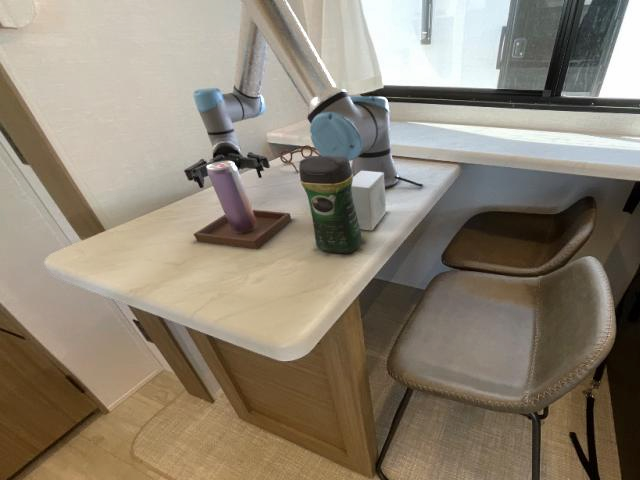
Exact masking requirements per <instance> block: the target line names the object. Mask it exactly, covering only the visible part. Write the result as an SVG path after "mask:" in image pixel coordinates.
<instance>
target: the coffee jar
mask: <svg viewBox="0 0 640 480" xmlns="http://www.w3.org/2000/svg"><path fill="white" fill-rule="evenodd" d="M308 156H309V155H308ZM351 166H352V165H351V161H349V160H348V158H347V157H338V156H319V155H312V156H309V157H307V158H303V159H301V160H300V161H299V166H298V168H299V169H298V172H299V178H300V183H301V185H302V188H303V190H304V192H305V193H306V196H307V199H308V204H309V208H310V214H311V219H312V225H313V226H312V227H313V234H314V239H315V245H316V248H317V249H318V250H319V251H321V252H326V253H333V254H349V253H351V252H353V251H355V250H357V249H358V248H359V247H360V245H361V244H362V241H363V236H362V230H361V229H360V227H359V223H358V219H357V215H356V211H355V206H354V202H353V197H352V182H353V174H352V169H351Z"/></svg>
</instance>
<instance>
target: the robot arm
mask: <svg viewBox="0 0 640 480" xmlns="http://www.w3.org/2000/svg"><path fill="white" fill-rule="evenodd" d="M240 2H241V14H240V24H239V32H238V42H237V50H236V51H237V52H236V60H235V73H234V81H233V87H232V89H233V91H232V92H228V93H222V91H221V89H219V88H218V87H206V88H199V89H195V90H194V91H193V93H192V95H193V100H194V103H195V106H196V109H197V111H198V113H199V116H200V118H201V121H202V123H203V125H204V127H205V129H206V134H207V136H208V138H209V141H210V144H211V146H212V158H210V159H209V161H207V160H206V159H204V158H200V159H199V160H198V162H195V163H194V164H192V165H191V166H189V167H187V168H185V169H184V170H183V172H184V174H185V176H186V178H187V180H188V181H190V182H191V181H193V182H194V183H197V184H198V185H197V186H198V187H199V189H203V188H204V186H205V178H207V177H209V175H208V172H207V168H206V167H207V166H208V165H209V164H212V163H215V162H220V161H233V162H234V163H235V165H236V167H237V169H238V171H239V170H244V169H251V170H253V169H254V170H256V173H257V177H258V179H261V178H263V177H262V173H261V172H264V171H265V169H270V168H271V165H270V160H269V158H268V157H267V156H264V155H259V154H256V153H254V152H252V151H249V152H247V154H246V155H243V154H242V150H241V149H242V148H241V145H240V142H239V140H238V137H237V135H236V132H235V129H234V126H233V124H235V123H238V122H241V121H245V120H249V119H255V118H258V117H260V116H262V115H264V113H265V111H266V103H265V102H266V101H265V98H264V97H263V94H262V88H263V83H264V76H265V70H266V64H267V59H268V53H269V48H270V49H271V51H272V53H273V54H274V56H275V57H276V60H277V61H278V63H279V64H280V65H281V68H282V69H283V70H284V72H285V74H286V75H287V77H288V78H289V80H290V81H291V83H292V85H293V86H294V88H295V89H296V91H297V93H298V94H299V96H300V98H301V99H302V101H303V102H304V104H305V106H306V107H307V108H306V109H307V113H306V114H307V115H306V119H307V120H308V122H309V124H310V127H309V133H310V140H311V143H312V145H313V147H314V148H315V151H316V152H318V153H319V154H320V155H322V156H338V157H347V158H348V160H349V162H351V165H350V166H351V169H352V174H353V177H354V176H355V175H356V174H358V173H359V172H360V171H371V172H382V173H384V184H385V189H386V188H389V187H392V186H395V185H396V184H397V183H398V182H399V181H403V182H405V183H408V184H411V185H414V186H416V187H420V188H421V187H424V184H423V183H418V182H416V181H412V180H411V179H407V178H404V177H402V176H401V177H400V176H399V174H398V169H397V166H396V164H395V162H394V159H393V156H392V155H393V154H392V147H391V146H392V145H391V144H392V143H391V126H390V125H391V124H390V110H389V102H388V99H387V98H386V97H384V96H358V95H357V96H355V95H354V96H350V95H349V93H348V91H347V90H346V89H343V88H340V87H338V86H337V85H336V83H335V81H334V80H333V78H332V77H331V75H330V72H328V70H327V68H326V66H325V64H324V62H323V61H322V59H321V58H320V55H319V53H318V52H317V50H316V48H315V47H314V45H313V43H312V42H311V40H310V39H309V36H308V35H307V33H306V32H305V30H304V27H302V25H301V23H300V21H299V19H298V18H297V15H296V14H295V12H294V11H293V9H292V7H291V6H290V4H289V2H288V0H240Z"/></svg>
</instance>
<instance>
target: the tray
mask: <svg viewBox="0 0 640 480" xmlns="http://www.w3.org/2000/svg"><path fill="white" fill-rule="evenodd" d="M252 210H253V213H254V216H255V219H256V221H257V227H256V228H255V229H254V230H253V231H251V232H248V233H241V234H240V233H235V232H234V231H233V230H232V229H231V227H230V225H229V222H228V220H227V218H226V215H225V214H223V215H221V216H220V217H218V218H217V219H215V220H213V221H212V222H210V223H209V224H207V225H205V226H204V227H202V228H201V229H199V230H197V231H196V232H195V233H193V236H194V238H195V240H196V242H198V243H206V244H214V245H221V246H231V247H237V248H245V249H246V248H248V249H253V250H258V249H259V248H260V247H262V246H263V245H264V244H265V243H266V242H268V241H269V240H270V239H271V238H273V237H274V236H275V235H276V234H278V233H279V232H280V231H281V230H282V229H283V228H284V227H286V226H287V225H288V224H289V223H291V222H292V216H291V213H290V212H282V211H270V210H261V209H260V210H258V209H252Z"/></svg>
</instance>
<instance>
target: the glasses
mask: <svg viewBox="0 0 640 480" xmlns="http://www.w3.org/2000/svg"><path fill="white" fill-rule="evenodd" d="M305 148H309V150H310V154H309V155H307V156H305V154H304V149H305ZM285 153H289V155H290V158H289V159H287V158H286V157H284V156H283V154H285ZM296 153H300V154H301V156H302V158H303V159H305V158H307V157H309V156H313V154H314V153H315V154H316V156H322V155H320V153H319V152H318V151H317V150H316V149H314V148H313V147H312V146H311V145H310V144H309V145H308V144H307V145H303V146H302V147H301V148H300V149H295V150H293V151H291V150H289V149H284V150H282V151H281V152H280V154H279V159H280V161H281V162H282V163H284V164H289V165H292V167H293V168H294V170H295V171H296V173H299V169H297V167H296V166H295V164H294V163H293V162H292V161H293V155H294V154H296Z"/></svg>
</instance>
